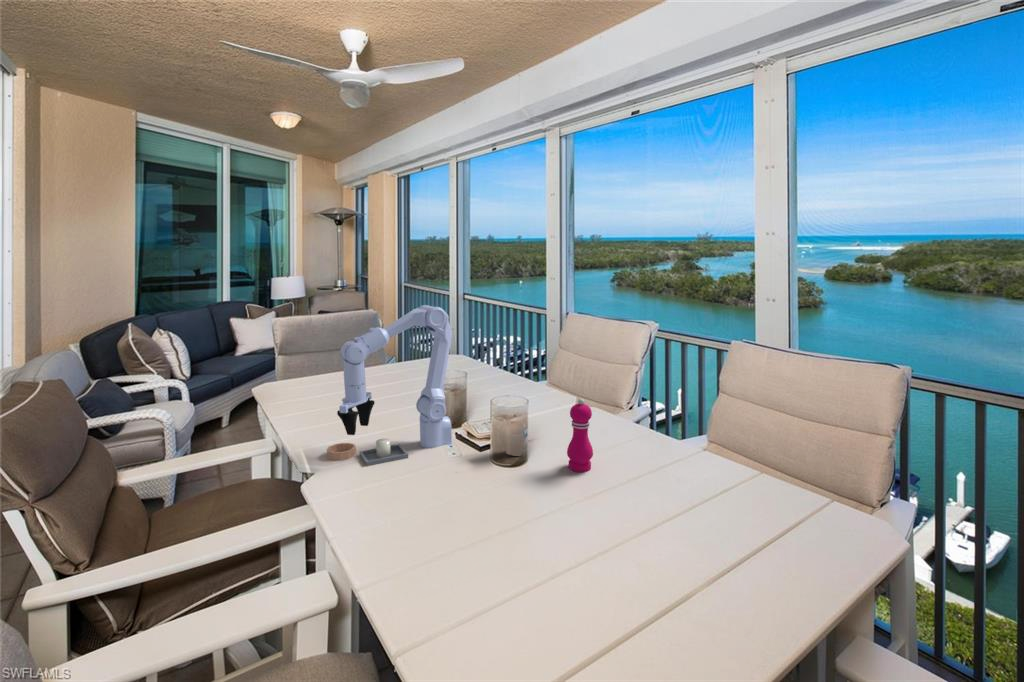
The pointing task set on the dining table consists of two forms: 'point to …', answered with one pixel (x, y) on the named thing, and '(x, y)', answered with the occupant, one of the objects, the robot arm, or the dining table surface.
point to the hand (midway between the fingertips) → (358, 429)
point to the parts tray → (371, 458)
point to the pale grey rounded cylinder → (383, 448)
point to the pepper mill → (580, 438)
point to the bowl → (335, 455)
